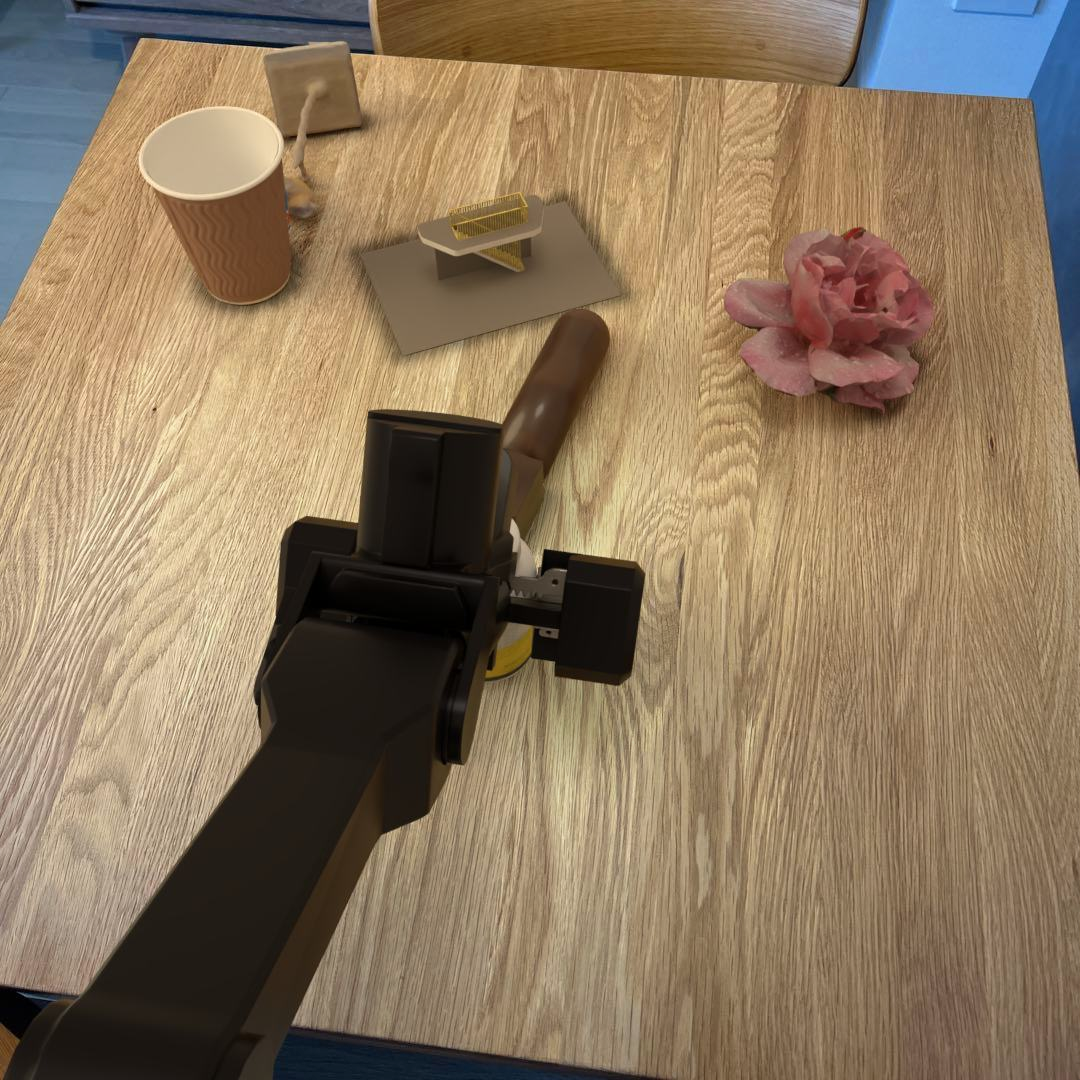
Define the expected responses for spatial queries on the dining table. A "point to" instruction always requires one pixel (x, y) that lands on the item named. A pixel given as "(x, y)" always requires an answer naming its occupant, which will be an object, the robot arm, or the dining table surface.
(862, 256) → the flower
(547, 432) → the walnut leg
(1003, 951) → the dining table surface
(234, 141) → the coffee cup
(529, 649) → the pill bottle
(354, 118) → the decorative sculpture
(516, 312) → the platform
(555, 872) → the dining table surface
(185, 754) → the dining table surface
